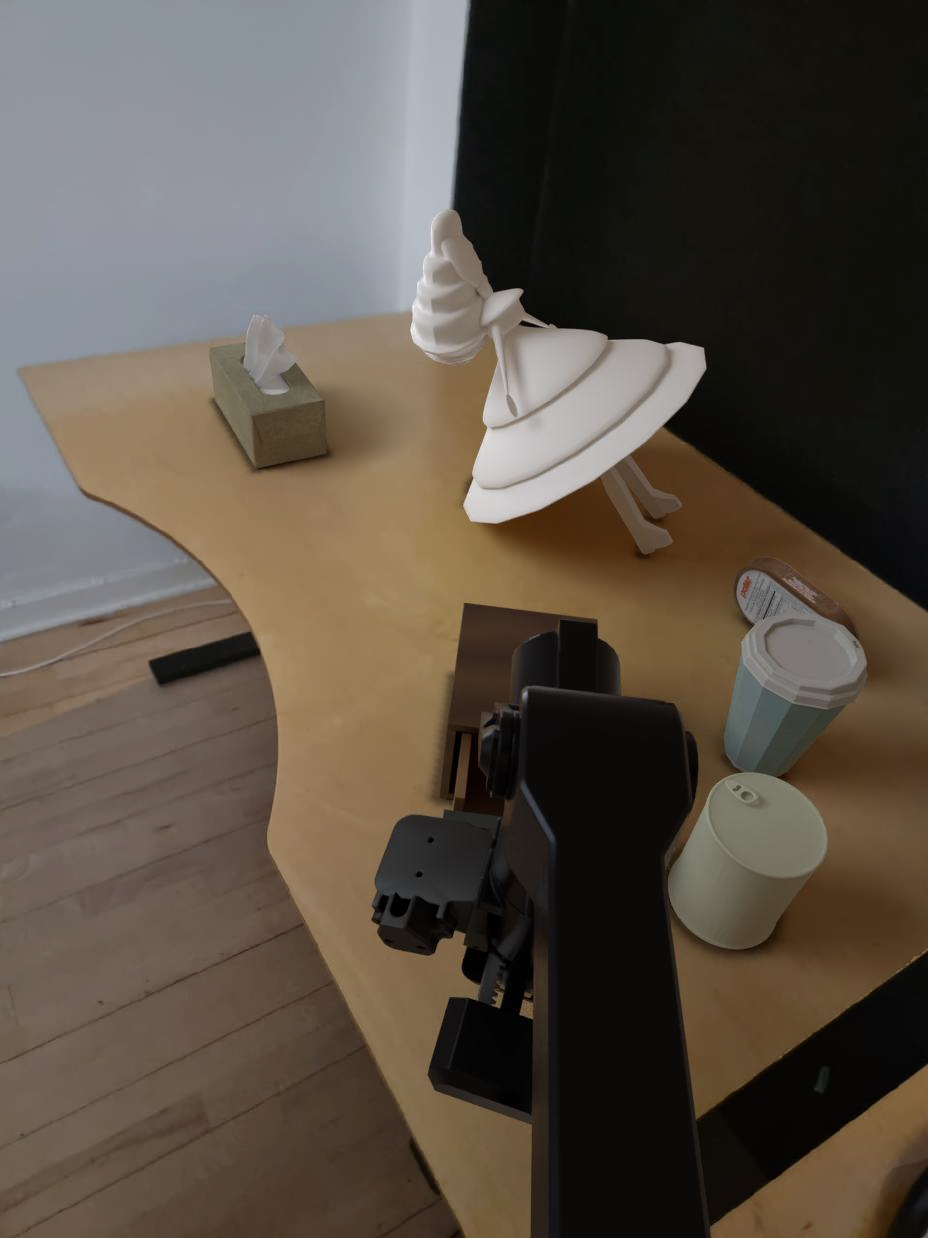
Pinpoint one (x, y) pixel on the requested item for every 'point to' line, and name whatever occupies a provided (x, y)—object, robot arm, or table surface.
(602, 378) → the figurine
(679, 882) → the can
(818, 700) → the disposable coffee cup
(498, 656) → the cabinet
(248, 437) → the tissue box
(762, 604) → the tin
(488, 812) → the drawer
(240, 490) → the table surface
